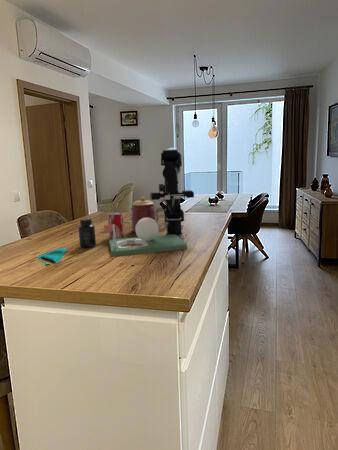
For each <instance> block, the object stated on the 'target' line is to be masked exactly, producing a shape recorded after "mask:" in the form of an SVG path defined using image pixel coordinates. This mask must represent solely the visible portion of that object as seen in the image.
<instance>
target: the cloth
mask: <svg viewBox="0 0 338 450" xmlns="http://www.w3.org/2000/svg"><path fill="white" fill-rule="evenodd" d="M68 251H69V249H67V248H65V247H61V248H58V249H54V250H52V251H49V252H45V253H43V254H41V255H38V256H37V259H38V260H39V261H40V263H41V262H42V263H41V264H44V263H45V265H44V266H45V267H47V266H48V264H46V263H48V262H47V261H44V259H45V260H49V261H51V262H54V263H55V264H57V263H58V262H60V261H61V260H63V258H64V257H65V253H67V252H68ZM62 256H64V257H62ZM40 258H41V259H40Z"/></svg>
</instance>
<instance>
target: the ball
mask: <svg viewBox="0 0 338 450" xmlns="http://www.w3.org/2000/svg"><path fill="white" fill-rule="evenodd" d="M159 229H160V227H159V224H158V223H157V220H156V221H155V220H153V219H152V218H143V219H141V220H139V221H138V223H137V224H136V227H135V231H136V232H135V234H136V237H139V238H140V239H141V240H144V241H151V240H153V239H154V238H155V237H156V236H159V235H158V234H159V231H160V230H159Z"/></svg>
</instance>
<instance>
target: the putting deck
mask: <svg viewBox="0 0 338 450" xmlns="http://www.w3.org/2000/svg"><path fill="white" fill-rule="evenodd" d="M103 229H104V231H103V232H104V233H105V232H109V231H113V239H109V240H108V242H109V249H110V253H111V254H110V255H111V256H112V257H115V256H116V257H117V256H126V255H127V256H128V255H135V254H136V255H137V254H149V253H159V252H160V253H161V252H168V251H171V252H172V251H177V250H178V251H180V250H188V245H187V243H186V242H184V241H183V239H181V238H180V237H179V236H178V234H176V235H175V234H172V235H169V234H162V235H157V236H156V237H155V238H154V239H153V240H151V241H144V240H141V239H140V238H139V237H138V236H136V237H127V238H125V237H123V238H122V239H115V225H109V224H104V225H103ZM127 245H139V246H127Z"/></svg>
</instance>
